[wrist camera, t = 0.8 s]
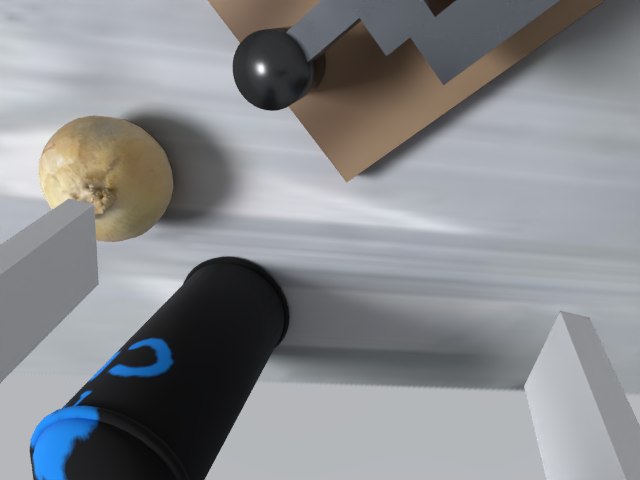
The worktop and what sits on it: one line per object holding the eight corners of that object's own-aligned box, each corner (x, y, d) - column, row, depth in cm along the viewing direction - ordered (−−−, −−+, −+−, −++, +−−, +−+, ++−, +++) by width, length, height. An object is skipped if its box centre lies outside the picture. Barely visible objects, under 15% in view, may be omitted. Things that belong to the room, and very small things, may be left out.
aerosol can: (313, 320, 37) (183, 606, 20) (237, 372, 41) (67, 655, 23) (233, 233, 36) (17, 455, 18) (161, 295, 40) (-79, 531, 22)
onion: (137, 242, 38) (74, 289, 32) (59, 155, 37) (-23, 186, 31) (210, 179, 35) (156, 217, 29) (127, 81, 34) (50, 99, 27)
